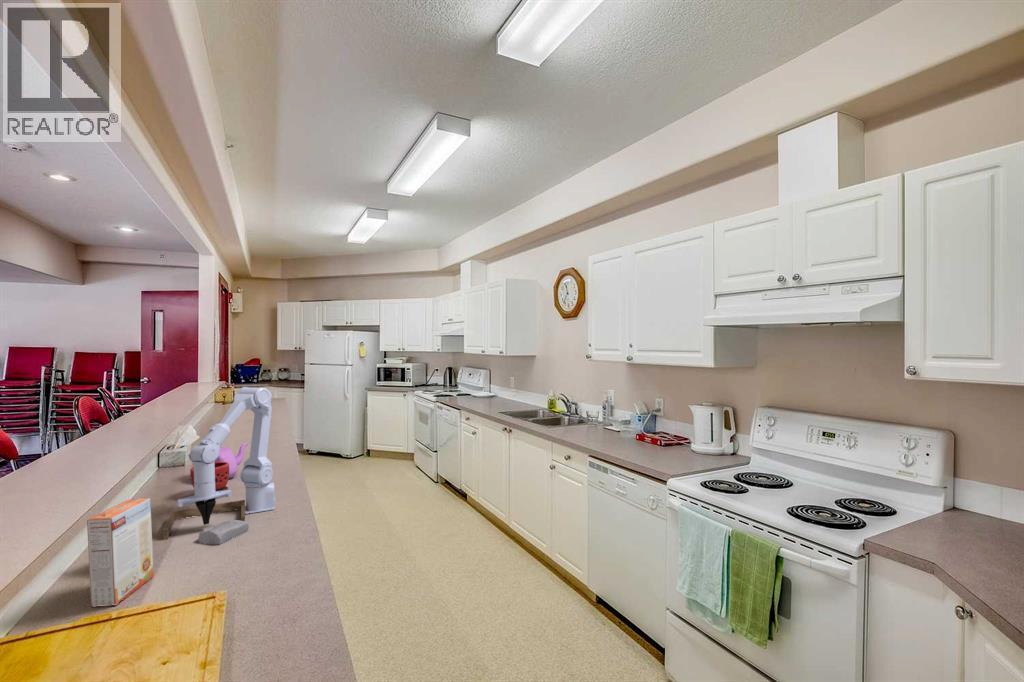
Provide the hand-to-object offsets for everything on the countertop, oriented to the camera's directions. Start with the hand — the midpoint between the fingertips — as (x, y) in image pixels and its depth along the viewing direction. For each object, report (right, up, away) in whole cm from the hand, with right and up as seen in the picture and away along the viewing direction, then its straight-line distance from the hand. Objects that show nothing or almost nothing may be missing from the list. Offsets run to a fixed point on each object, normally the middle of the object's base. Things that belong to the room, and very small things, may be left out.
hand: (206, 523), depth 158 cm
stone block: (+8, -3, -5) cm, 10 cm away
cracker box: (+3, -3, -38) cm, 38 cm away
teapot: (-32, -2, +59) cm, 67 cm away
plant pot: (-20, -2, +36) cm, 41 cm away
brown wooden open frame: (-3, -2, +6) cm, 7 cm away
